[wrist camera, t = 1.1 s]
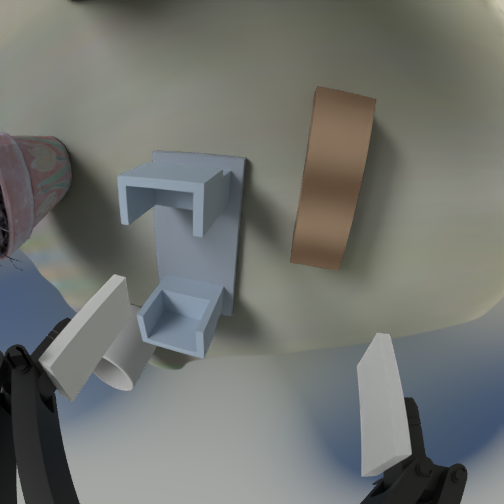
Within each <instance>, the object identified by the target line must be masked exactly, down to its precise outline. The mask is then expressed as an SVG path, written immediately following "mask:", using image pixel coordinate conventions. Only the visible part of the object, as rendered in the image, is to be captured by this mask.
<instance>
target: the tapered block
mask: <svg viewBox="0 0 504 504" xmlns="http://www.w3.org/2000/svg"><path fill="white" fill-rule="evenodd" d="M375 103H376V99H373V98H369V97H365V96H361V95H357V94H353V93H348V92H344V91H339V90H334V89H329V88H323V87H318V86H317V88H316V90H315V92H314V100H313V108H312V116H311V124H310V131H309V138H308V145H307V152H306V159H305V166H304V172H303V179H302V185H301V192H300V198H299V204H298V210H297V216H296V222H295V227H294V233H293V241H292V250H291V258H290V262H291V263H297V264H303V265H308V266H314V267H320V268H326V269H332V270H338V271H339V269H340V265H341V262H342V258H343V255H344V251H345V248H346V244H347V240H348V237H349V233H350V229H351V225H352V221H353V217H354V213H355V209H356V205H357V201H358V196H359V192H360V187H361V183H362V178H363V173H364V168H365V163H366V158H367V153H368V148H369V142H370V136H371V130H372V124H373V117H374V111H375Z"/></svg>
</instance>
